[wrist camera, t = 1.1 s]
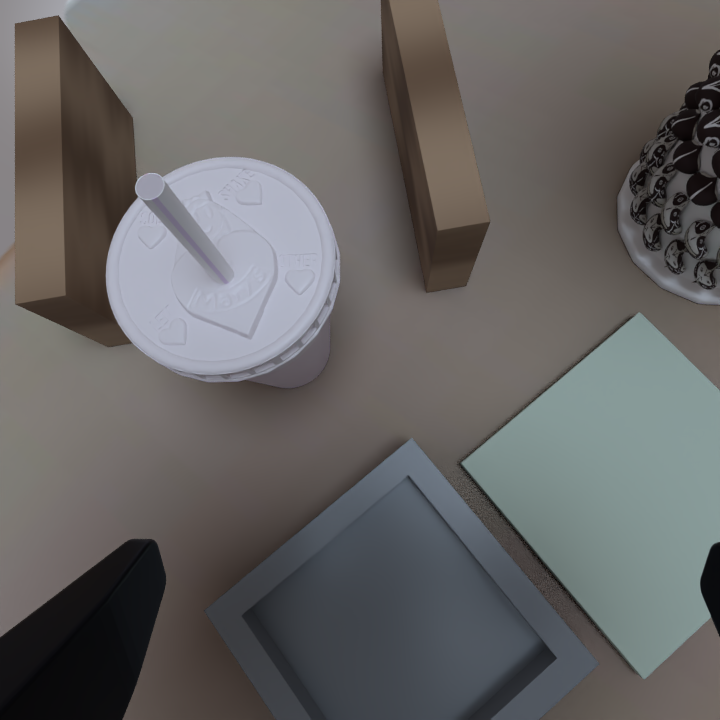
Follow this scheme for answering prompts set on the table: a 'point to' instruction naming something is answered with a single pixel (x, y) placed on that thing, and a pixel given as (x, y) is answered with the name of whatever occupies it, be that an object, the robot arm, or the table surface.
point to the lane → (118, 170)
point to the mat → (618, 488)
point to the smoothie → (226, 273)
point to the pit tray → (398, 612)
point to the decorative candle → (679, 198)
